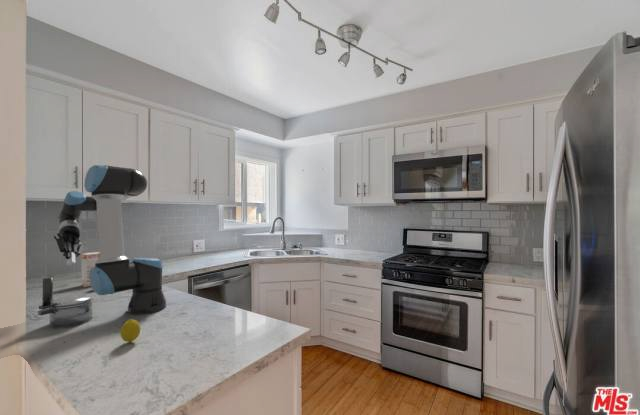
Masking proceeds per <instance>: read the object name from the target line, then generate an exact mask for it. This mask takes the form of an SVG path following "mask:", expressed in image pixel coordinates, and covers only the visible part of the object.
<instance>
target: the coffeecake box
mask: <svg viewBox="0 0 640 415" xmlns="http://www.w3.org/2000/svg"><path fill="white" fill-rule="evenodd" d="M98 259H99V251H93V252H92V251H91V252H84V253H82V252H81V286H82V287H84V288H87V287H91V284H90V280H89V274H90V270H91V269H92V268H93V267H95V262H96V261H97V260H98Z"/></svg>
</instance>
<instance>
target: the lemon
mask: <svg viewBox="0 0 640 415" xmlns="http://www.w3.org/2000/svg"><path fill="white" fill-rule="evenodd" d="M140 333H141V326H140V322H138V320H136V319H132V318H130V319H128V320H127V321H125V322H124V323H123V324H122V325H121V329H120V337H121V339H122V340H123V341H124V342H128V343H129V344H131V343H133V341H136V339H137V338H138V337H139V336H140Z"/></svg>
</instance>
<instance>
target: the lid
mask: <svg viewBox="0 0 640 415" xmlns="http://www.w3.org/2000/svg"><path fill="white" fill-rule="evenodd" d="M53 287H54V278H53V277H52V276H51V277H44V278H42V305H38V309H39V310H43V309H48V308H51V307H61V306H70V305H76V304H80V303H84V302H87V301H90V300H92V299H93V300H94V296H93V294H90V293H89V294H88V293H86V294H84V293H83V294H82V293H81V294H71V295H67V296H61V297H58V298H55V299H53V298H54V293H53V292H54V290H53V289H54V288H53Z"/></svg>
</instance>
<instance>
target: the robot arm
mask: <svg viewBox="0 0 640 415" xmlns="http://www.w3.org/2000/svg"><path fill="white" fill-rule="evenodd" d="M147 187H148V181H147V178H146V176H145V175H144V174H143V173H142V172H141V171H139V170H137V169H134V168H131V167H129V168H128V167H122V166H121V167H119V166H114V165H113V166H112V165H107V164H104V165H103V164H101V165H100V164H94V165H92V166H90V168H88V169H87V172H86V174H85V177H84V189H85V191H86V192H87V193H90V194H91V195H90V196H87V195H86V194H85V193H84V192H81V191H77V190H70V191H69V192H67V193H66V195H65V197H64V200H63V205H62V208H61V210H60V211H59V214H58V225H59V226H58V227H59V229H58V230H59V231H58V233H56V234H55V235H54V236H53V238H54V240H55V241H56V244H57V246H58V249H59V252H60V253H63V254H62V255H63V257H64V258H65V259H66V266H68V267H69V268H71V267H72V266H74V265H75V264H76V261H77V257H79V256H81V255H82V251H83V249H84V246H86V244H85V243H83V242H81V240H80V236H81V232H80V231H81V230H80V224H79V223H80V216H81V214H82V212H96V216H97V217H96V218H97V219H96V220H97V232H98V233H97V236H98V252H99V259H98V260H97V261H96V262H95V267H93V268H92V269H91V270H90V274H89V280H90V284H91V286H90V287H91V289H92V290H93V292H94V293H95V294H96V295H98V296H107V295H114V294H117V293H120V292H121V293H122V292H125V291H129V290H131V291H132V293H131V297H130V299H129V302H128V305H127V313H129V314H131V315H143V314H144V315H145V314H151V313H155V312H159V311H162V310H163V309H165V308H166V307H167V299H166V296H165V294H164V292H163V261H162V259H159V258H155V257H135V258H132V262H130V258H129V257H127V256H126V254H125V242H124V241H125V239H124V226H123V225H124V224H123V222H124V221H123V209H122V208H123V207H122V203H123V202H124V201H126V200H128V199H130V198H132V197H138V196H139V195H142V194H143V193H144V192H145V191H146V190H147Z"/></svg>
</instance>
